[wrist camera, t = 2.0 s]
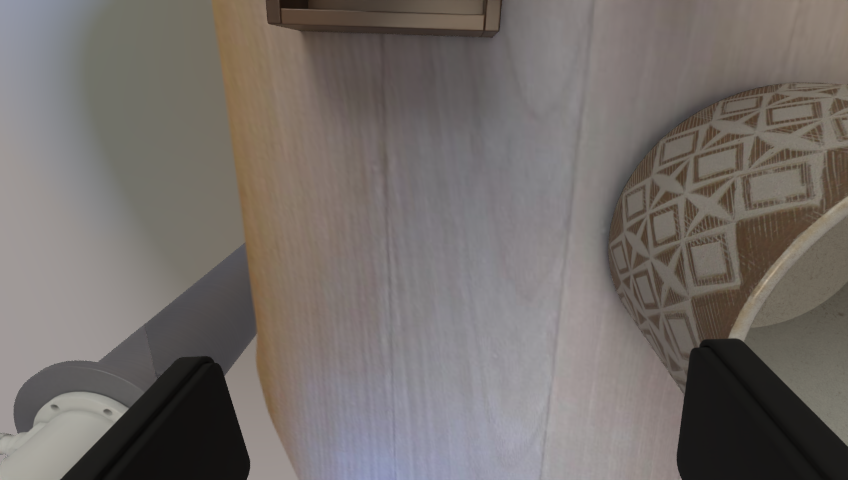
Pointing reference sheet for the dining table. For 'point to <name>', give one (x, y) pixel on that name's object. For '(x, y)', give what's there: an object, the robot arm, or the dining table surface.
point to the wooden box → (389, 16)
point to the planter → (746, 239)
